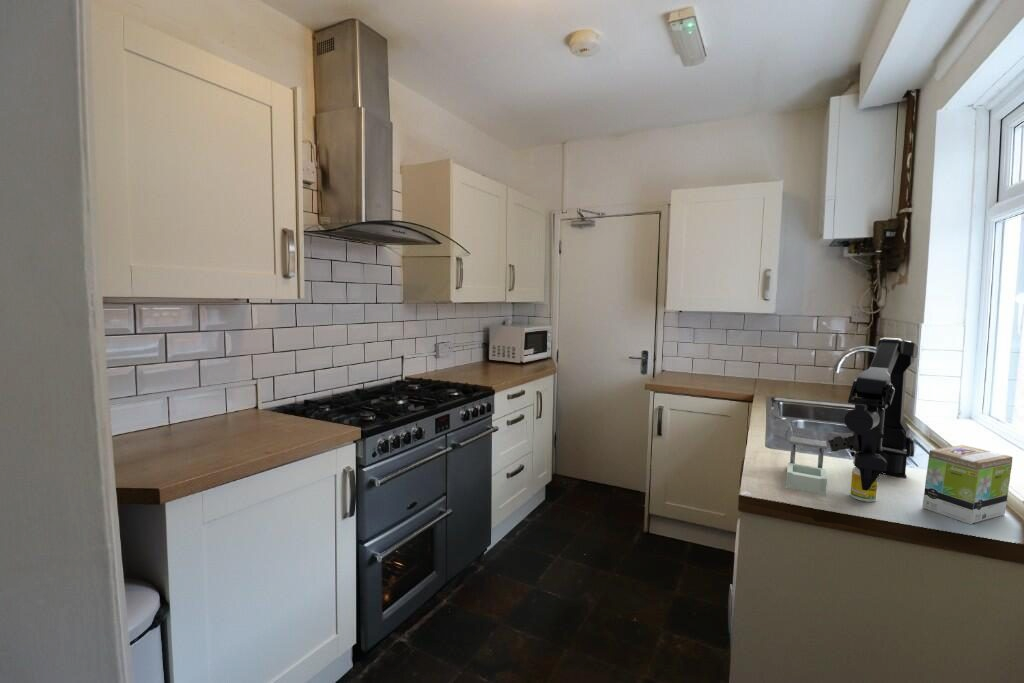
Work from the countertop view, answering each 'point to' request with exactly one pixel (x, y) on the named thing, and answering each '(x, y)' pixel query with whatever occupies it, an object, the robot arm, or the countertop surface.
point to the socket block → (806, 478)
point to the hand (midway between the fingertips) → (863, 486)
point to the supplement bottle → (857, 488)
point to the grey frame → (809, 443)
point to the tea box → (967, 483)
